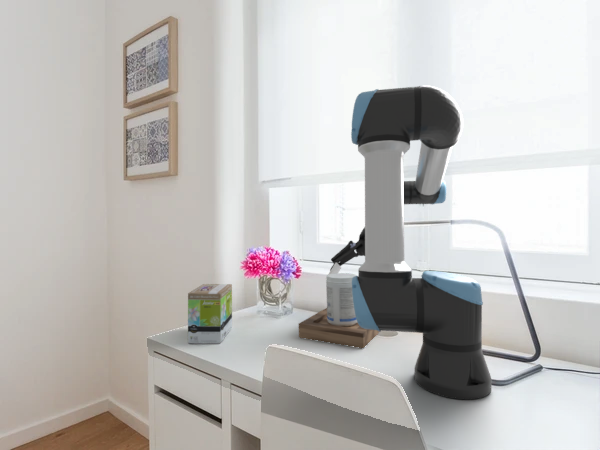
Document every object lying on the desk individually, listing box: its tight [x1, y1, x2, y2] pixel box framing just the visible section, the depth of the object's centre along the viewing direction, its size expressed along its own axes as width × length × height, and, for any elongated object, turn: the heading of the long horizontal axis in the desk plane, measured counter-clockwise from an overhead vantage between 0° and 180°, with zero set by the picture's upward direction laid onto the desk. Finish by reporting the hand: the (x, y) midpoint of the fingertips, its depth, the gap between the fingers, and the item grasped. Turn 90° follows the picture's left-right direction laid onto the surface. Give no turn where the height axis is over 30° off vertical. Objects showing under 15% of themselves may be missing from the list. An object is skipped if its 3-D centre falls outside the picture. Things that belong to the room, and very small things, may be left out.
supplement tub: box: [325, 272, 357, 326], centre depth 110 cm, size 10×10×15 cm
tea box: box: [187, 283, 233, 345], centre depth 109 cm, size 15×10×15 cm, turn 179°
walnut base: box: [298, 307, 381, 349], centre depth 110 cm, size 20×20×4 cm
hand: (344, 283), depth 111 cm, fingers open, 13 cm apart
